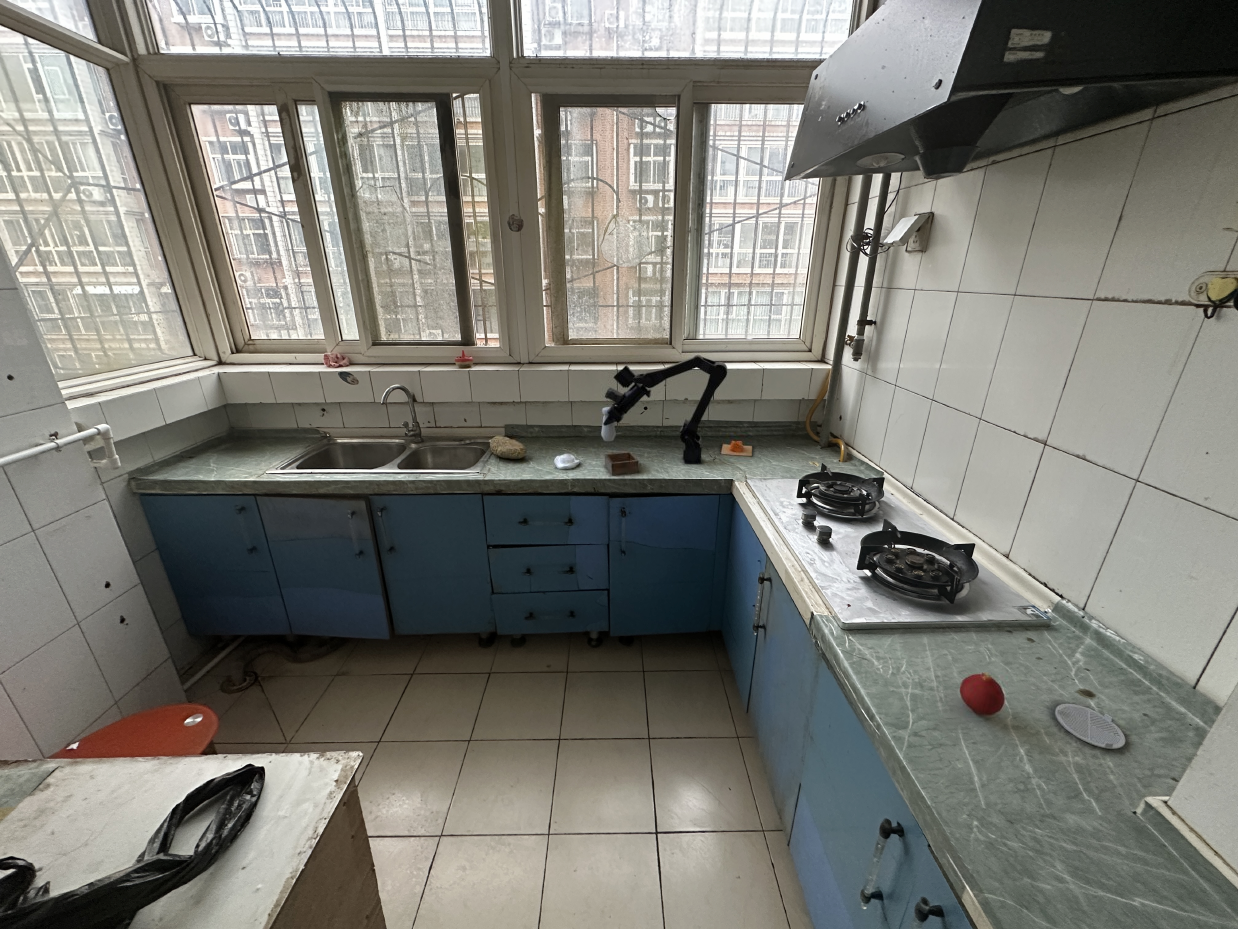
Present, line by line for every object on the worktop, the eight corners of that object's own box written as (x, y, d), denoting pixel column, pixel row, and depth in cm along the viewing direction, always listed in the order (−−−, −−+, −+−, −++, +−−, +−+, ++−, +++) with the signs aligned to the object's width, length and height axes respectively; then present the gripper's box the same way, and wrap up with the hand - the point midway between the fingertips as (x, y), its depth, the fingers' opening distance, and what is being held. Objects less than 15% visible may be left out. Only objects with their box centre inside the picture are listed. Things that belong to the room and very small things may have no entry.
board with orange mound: (752, 446, 208) (753, 436, 206) (751, 456, 196) (752, 446, 195) (722, 444, 210) (723, 434, 209) (721, 453, 199) (721, 443, 198)
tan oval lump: (488, 453, 207) (492, 459, 188) (489, 434, 206) (493, 438, 187) (520, 455, 211) (527, 461, 192) (521, 436, 210) (528, 441, 192)
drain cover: (1056, 696, 85) (1058, 692, 84) (1123, 723, 80) (1125, 718, 79) (1053, 728, 79) (1055, 723, 79) (1126, 759, 74) (1128, 754, 73)
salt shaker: (616, 437, 199) (616, 405, 194) (615, 442, 194) (614, 409, 189) (602, 437, 200) (601, 405, 195) (600, 441, 194) (599, 409, 190)
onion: (981, 697, 85) (993, 660, 82) (1006, 726, 80) (1020, 687, 77) (947, 698, 85) (958, 661, 82) (971, 727, 79) (983, 688, 77)
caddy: (630, 462, 191) (630, 451, 190) (638, 472, 182) (638, 460, 180) (604, 465, 189) (604, 454, 187) (611, 475, 180) (611, 463, 178)
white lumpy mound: (550, 451, 191) (574, 448, 194) (551, 462, 192) (574, 458, 196) (558, 460, 182) (583, 456, 186) (559, 471, 184) (583, 467, 188)
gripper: (622, 376, 196) (596, 403, 202) (611, 386, 179) (583, 415, 185) (642, 396, 197) (615, 422, 204) (633, 408, 180) (604, 436, 187)
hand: (604, 423), depth 195 cm, fingers closed on salt shaker, 3 cm apart
